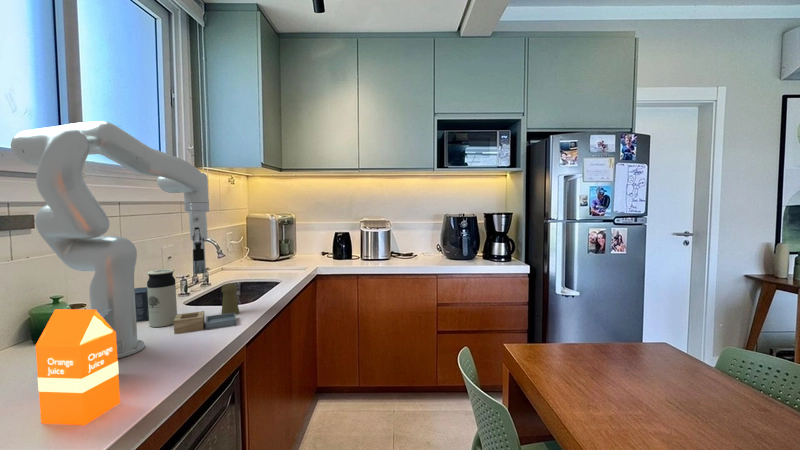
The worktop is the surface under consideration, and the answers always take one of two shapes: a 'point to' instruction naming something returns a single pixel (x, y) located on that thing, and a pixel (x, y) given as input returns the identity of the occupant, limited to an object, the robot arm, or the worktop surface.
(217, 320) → the tray
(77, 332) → the orange juice
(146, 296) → the box
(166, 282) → the travel mug
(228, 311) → the olive green tall block
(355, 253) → the worktop surface
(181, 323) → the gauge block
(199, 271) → the silver rectangular bar
